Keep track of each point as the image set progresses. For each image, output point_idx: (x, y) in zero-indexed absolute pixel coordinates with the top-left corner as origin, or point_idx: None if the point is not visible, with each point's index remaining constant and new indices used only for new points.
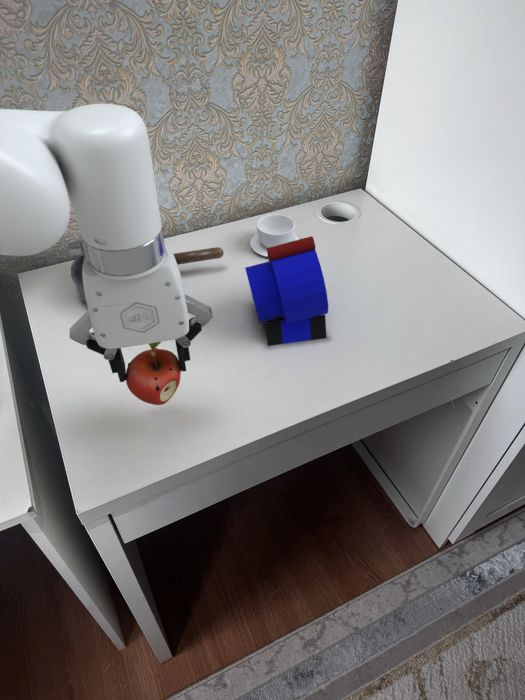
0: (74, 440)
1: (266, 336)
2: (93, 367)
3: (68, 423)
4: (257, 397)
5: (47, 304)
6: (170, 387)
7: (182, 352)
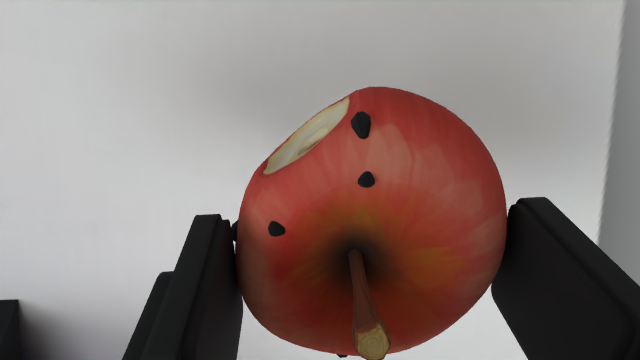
0: (590, 81)
1: (15, 328)
2: (489, 291)
3: (589, 141)
4: (29, 130)
5: None
6: (295, 153)
7: (158, 334)
